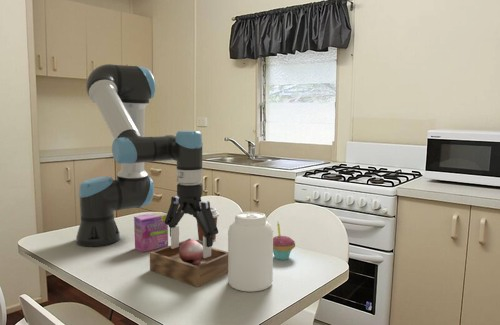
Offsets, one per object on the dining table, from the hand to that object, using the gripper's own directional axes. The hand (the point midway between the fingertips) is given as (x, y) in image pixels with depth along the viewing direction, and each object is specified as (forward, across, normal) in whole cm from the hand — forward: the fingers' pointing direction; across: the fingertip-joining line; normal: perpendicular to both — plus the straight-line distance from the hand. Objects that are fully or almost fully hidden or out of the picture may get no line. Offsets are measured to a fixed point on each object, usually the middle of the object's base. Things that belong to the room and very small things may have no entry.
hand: (190, 252), depth 122 cm
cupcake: (+6, +16, +26) cm, 32 cm away
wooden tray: (+6, 0, 0) cm, 6 cm away
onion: (+3, 0, 0) cm, 3 cm away
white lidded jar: (+6, +20, +4) cm, 21 cm away
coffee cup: (+6, -16, +24) cm, 30 cm away
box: (+6, -26, +6) cm, 27 cm away
